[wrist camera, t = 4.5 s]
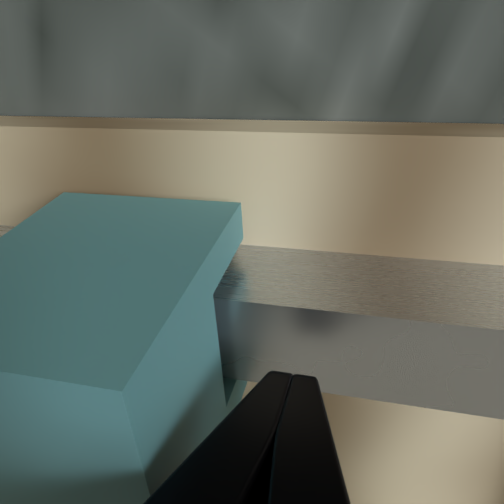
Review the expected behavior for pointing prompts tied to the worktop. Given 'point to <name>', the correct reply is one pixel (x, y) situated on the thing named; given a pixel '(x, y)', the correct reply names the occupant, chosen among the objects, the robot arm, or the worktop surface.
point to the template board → (311, 241)
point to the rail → (366, 325)
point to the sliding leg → (110, 345)
